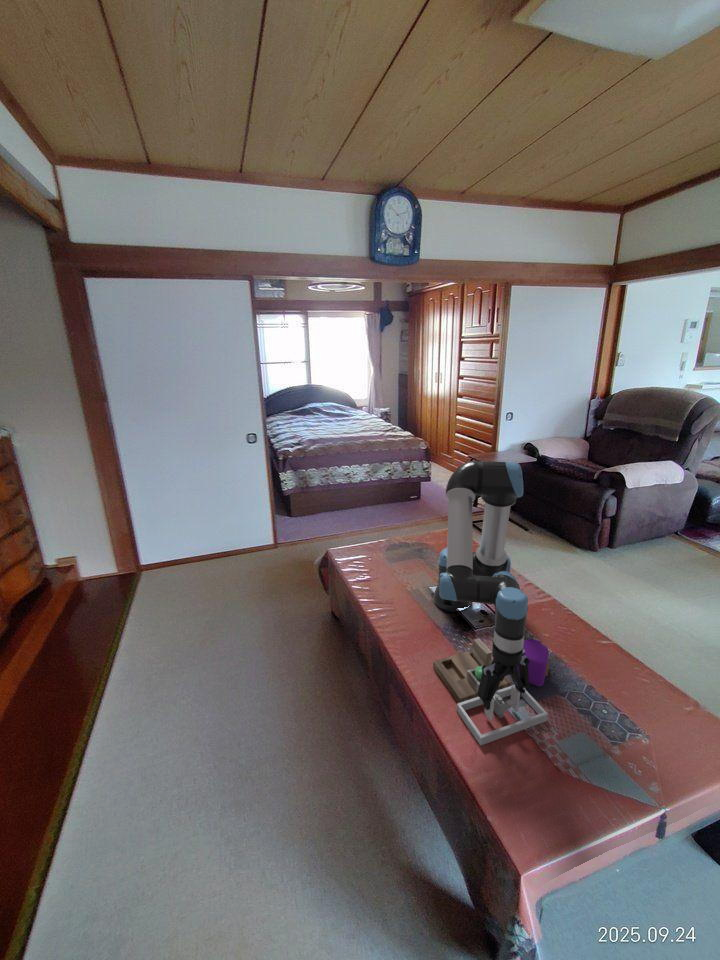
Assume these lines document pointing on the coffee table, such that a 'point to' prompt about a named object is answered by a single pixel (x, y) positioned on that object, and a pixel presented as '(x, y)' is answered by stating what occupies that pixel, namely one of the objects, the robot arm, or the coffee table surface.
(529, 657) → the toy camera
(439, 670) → the station
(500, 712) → the lighter
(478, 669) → the button
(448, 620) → the coffee table surface
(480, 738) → the rectangular frame
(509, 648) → the robot arm
